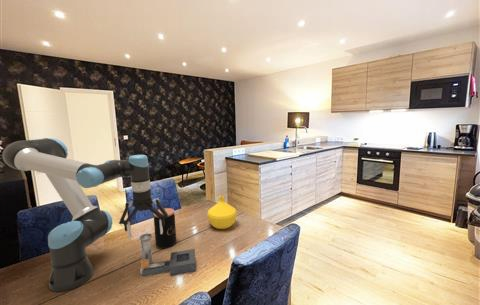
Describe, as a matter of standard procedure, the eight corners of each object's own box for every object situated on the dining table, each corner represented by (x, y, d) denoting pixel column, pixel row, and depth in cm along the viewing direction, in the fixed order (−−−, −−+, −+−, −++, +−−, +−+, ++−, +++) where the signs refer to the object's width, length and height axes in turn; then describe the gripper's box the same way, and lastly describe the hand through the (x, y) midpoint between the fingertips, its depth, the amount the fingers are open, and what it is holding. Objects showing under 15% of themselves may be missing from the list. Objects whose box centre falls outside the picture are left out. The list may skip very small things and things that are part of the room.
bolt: (140, 274, 97) (139, 262, 97) (141, 270, 100) (140, 259, 99) (164, 270, 100) (164, 259, 99) (165, 266, 102) (164, 255, 101)
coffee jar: (170, 249, 115) (168, 216, 113) (151, 248, 118) (149, 215, 115) (179, 239, 126) (178, 208, 123) (162, 237, 128) (160, 207, 125)
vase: (221, 216, 154) (220, 190, 151) (242, 223, 143) (242, 194, 140) (201, 227, 139) (200, 197, 136) (224, 235, 128) (223, 203, 126)
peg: (141, 268, 101) (138, 239, 99) (143, 262, 106) (140, 234, 104) (153, 266, 102) (150, 238, 100) (154, 260, 107) (152, 232, 105)
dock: (141, 280, 93) (140, 272, 93) (145, 264, 104) (144, 256, 103) (196, 271, 99) (195, 262, 98) (195, 256, 109) (194, 248, 109)
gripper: (107, 195, 93) (113, 243, 96) (170, 189, 98) (174, 234, 101) (112, 190, 100) (118, 235, 103) (171, 184, 106) (174, 227, 109)
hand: (146, 235), depth 102 cm, fingers open, 13 cm apart
